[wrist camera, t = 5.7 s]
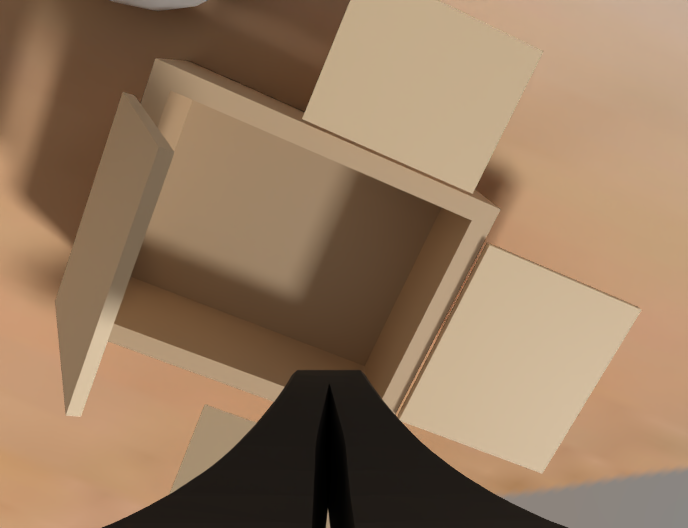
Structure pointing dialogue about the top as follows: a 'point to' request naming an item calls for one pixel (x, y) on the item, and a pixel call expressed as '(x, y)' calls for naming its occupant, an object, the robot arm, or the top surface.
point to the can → (160, 4)
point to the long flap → (108, 245)
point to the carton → (366, 237)
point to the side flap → (212, 443)
